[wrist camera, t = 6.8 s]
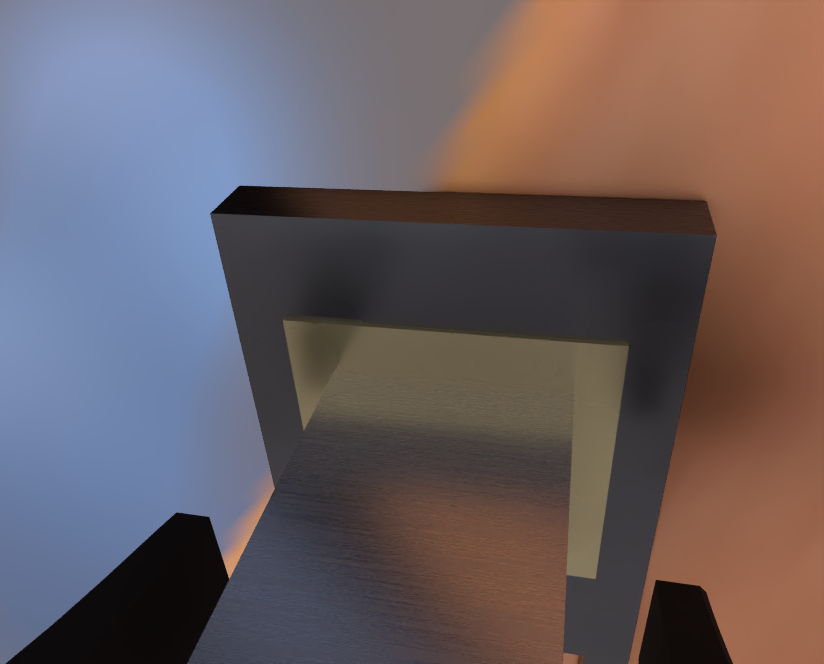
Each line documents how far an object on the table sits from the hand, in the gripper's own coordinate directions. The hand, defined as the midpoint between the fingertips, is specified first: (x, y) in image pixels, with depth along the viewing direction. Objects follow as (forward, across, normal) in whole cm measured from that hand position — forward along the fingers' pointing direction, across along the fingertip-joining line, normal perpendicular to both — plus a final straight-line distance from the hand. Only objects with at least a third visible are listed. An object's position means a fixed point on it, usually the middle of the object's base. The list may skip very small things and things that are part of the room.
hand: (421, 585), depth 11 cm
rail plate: (+4, 0, +6) cm, 7 cm away
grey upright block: (+3, 0, 0) cm, 3 cm away
